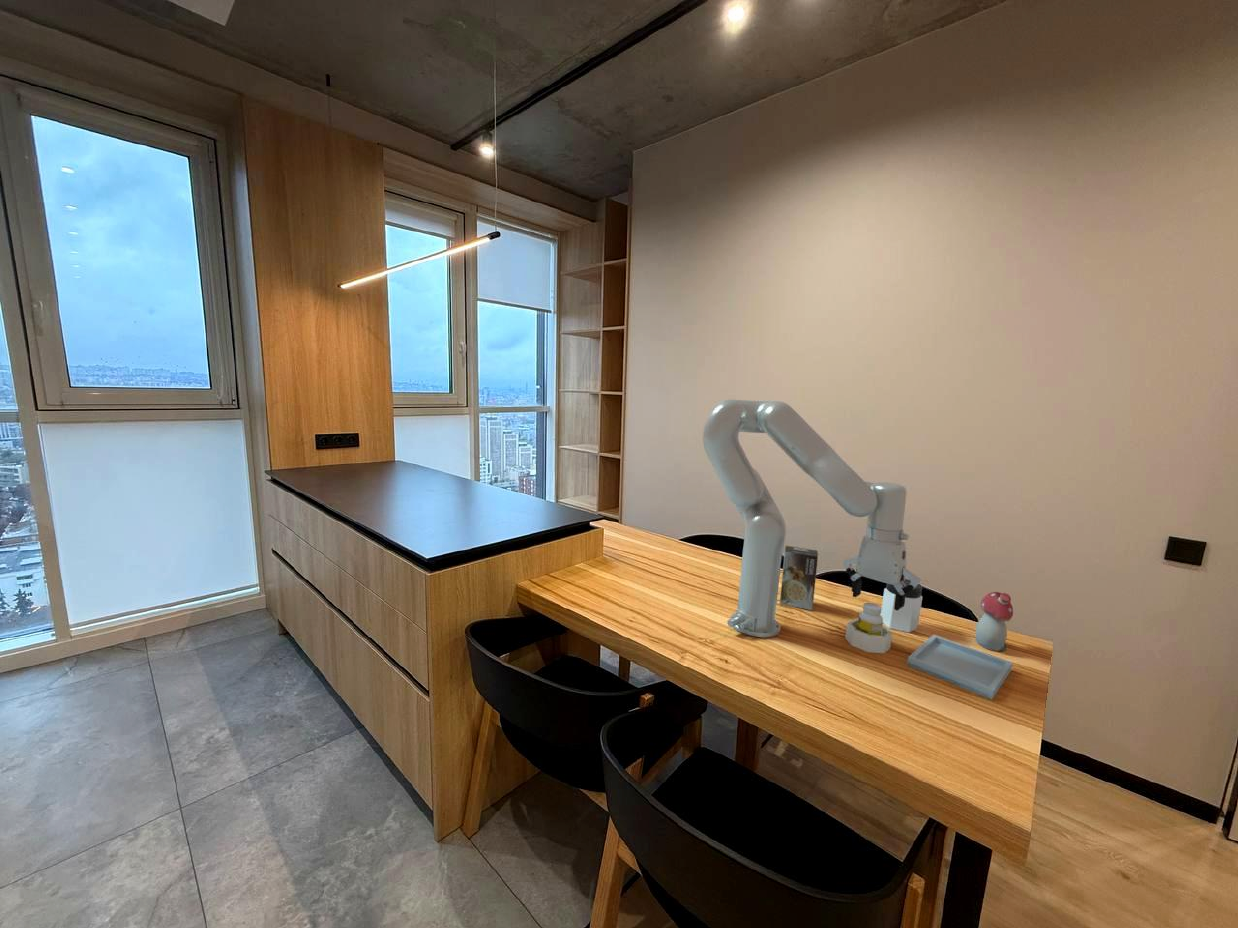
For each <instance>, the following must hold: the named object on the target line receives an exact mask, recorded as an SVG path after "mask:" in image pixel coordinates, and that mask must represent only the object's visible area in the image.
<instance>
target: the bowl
mask: <svg viewBox="0 0 1238 928" xmlns="http://www.w3.org/2000/svg"><path fill="white" fill-rule="evenodd" d="M857 625H858V618H854V619H851V620H850V621H848V622H847V623H846V629H845V630H846V631H845V639H846V640H847V642H848V643H849V644H850V646H852V647H854V648H857V649H858V650H859V649H860V650H862V651H864V652H867V653H873V654H875V653H876V654H886V652H888V651H889V650H891V645H892V638H893V632H892V631H891V630H890V629H889V628H887V626H886V625H885V624H883V625H882V633H881V636H877V635H869V634H866V633H864V632H861V631H858V630H857Z"/></svg>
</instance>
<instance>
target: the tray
mask: <svg viewBox="0 0 1238 928" xmlns="http://www.w3.org/2000/svg"><path fill="white" fill-rule="evenodd" d="M906 665H907V666H908V667H911V668H913V669H915V670H919V671H921V672H923V673H925V674H927V675H930V676H932V677H935V678H938V679H940V680H942V681H945V682H947V683H950V684H952V685H954V686H957V687H959V688H962V689H964V690H966V691H969V692H972V693H974V694H977V695H980V696H982V697H984V698H987V699H989V700H993V699H994V698H995V696H996V694H997V693H998V691H999V690H1000V689H1001V687H1002V685H1003V683H1004V682H1005V681H1006V679H1007V677H1009V674H1010V673H1011V671H1012V667H1013V662H1012V661H1009V660H1006V659H1003V658H1001V657H998V656H995V655H993V654H990V653H987V652H984V651H981V650H978V649H976V648H972V647H970V646H968V645H964V644H961V643H959V642H956V641H953V640H950V639H947V638H945V637H941V636H938V635H936V634H932V635H931V636H930V637H928V638H927V640H925V641H924V642H923V643H922V644H921V645H920V646H918V648H916V649H915V650H914V651H913V652H912V653H911V654H910V655H908V657H907V664H906Z"/></svg>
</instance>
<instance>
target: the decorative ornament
mask: <svg viewBox="0 0 1238 928" xmlns="http://www.w3.org/2000/svg"><path fill="white" fill-rule="evenodd" d="M1011 601H1012V597H1011V596H1010V595H1009V594H1007V593H1005V592H999V591H991V592H989V593H988V594H985V596H983V598H982V599H981V600H980V609H981V610H982V611H983V612H984V614H983V615H982V616H981V618H979V620H978V621H977V624H976V627H975V641H976V642H977V644H979V645H980V646H982V647H983V648H985V649H987V650H989V651H995V652H1004V651H1006V650H1007V645H1006V644H1007V643H1006V641H1007V637H1008V636H1007V635H1008V632H1007V625H1006V622H1009V621H1010V620H1011V619H1012V618H1013V615H1014V608H1013V605H1012V602H1011Z"/></svg>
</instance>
